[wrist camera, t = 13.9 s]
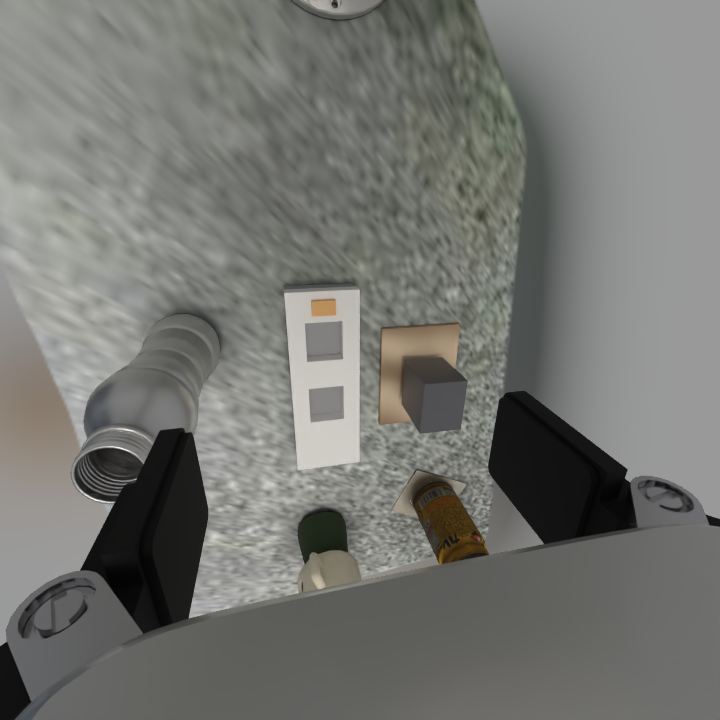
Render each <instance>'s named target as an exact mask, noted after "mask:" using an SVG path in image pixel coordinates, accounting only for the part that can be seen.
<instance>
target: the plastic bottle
mask: <svg viewBox="0 0 720 720" xmlns="http://www.w3.org/2000/svg"><path fill="white" fill-rule="evenodd" d="M219 359H220V345H219V339H218V337H217V334H216V332H215V331H214V329H213V328H212V327H211V326H210V325H209V324H208V323H207V322H206V321H204V320H203V319H201V318H199V317H197V316H193V315H189V314H176V315H172V316H169V317H166V318H164V319H162V320H160V321H158V322H157V323H156V324H155V325H153V326H152V328H151V329H150V330H149V332H148V334H147V336H146V338H145V340H144V342H143V346H142V349H141V351H140V353H139V354H138V356H137V357H136V358H135V359H134V360H133V361H131V362H130V363H129V364H128V365H127V366H125V367H124V368H122V369H121V370H119V371H118V372H116V373H115V374H113V375H111V376H110V377H109V378H107V379H106V380H105V381H104V382H103V383H101V384H100V385H99V386H98V387H97V388H96V389H95V390H94V392H93V393H92V394H91V396H90V398H89V400H88V402H87V405H86V410H85V415H84V420H83V421H84V430H85V433H86V436H87V440H86V441H85V443H84V444H83V446H82V449H81V452H80V453H79V454H78V456H77V457H76V458H75V461H74V463H73V465H72V468H71V479H72V482H73V484H74V486H75V487H76V489H77V490H78V491H79V492H80V493H81V494H82V495H84V496H85V497H87V498H89V499H91V500H93V501H96V502H100V503H105V504H114V503H115V501H116V499H117V497H118V495H119V494H120V492H121V490H122V488H123V487H124V485H126V484H127V483H133V482H135V481H136V479H137V477H138V475H139V473H140V471H141V468H142V466H143V464H144V462H145V460H146V458H147V456H148V454H149V452H150V450H151V448H152V445H153V443H154V441H155V439H156V437H157V435H158V433H159V431H160V430H166V429H175V428H184V430H185V432H186V433H187V432H192V434H193V435H194V433H195V429H196V426H197V421H198V405H199V396H200V392H201V388H202V386H203V384H204V382H205V380H206V379H208V377H209V376H210V375H211V374H212V373H213V371H214V370H215V368H216V366H217V364H218V362H219Z"/></svg>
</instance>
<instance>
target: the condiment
mask: <svg viewBox="0 0 720 720" xmlns="http://www.w3.org/2000/svg"><path fill="white" fill-rule="evenodd" d="M430 481H431V482H430ZM465 486H466V484H465V483H462V482H459V481H455V480H452V479H449V478H445V477H441V476H436V475H433V474H430V473H425V472H422V471H418V470H417V471H416V472H415V474H414V475H413V476H412V478H411V479H410V481H409V483H408V484H407V485H406V487H405V489H404V490H403V492H402V493H401V495H400V497H399V499H398V500H397V502H396V503H395V505H394V507H393V509H392V510H391V511H394V512H397V513H402V514H407V515H410V516H416V517H418V518H419V521H420V522H421V525H422V526H423V529H424V531H425V534H426V536H427V538H428V540H429V543H430V544H431V546H432V549H433V551H434V553H435V555H436V557H437V560H438V562H439V564H445V563H450V562H456V561H461V560H466V559H471V558H476V557H481V556H486V555H489V553H488V551H487V549H486V545H485V541H484V539H483V537H482V536H481V534H480V532H479V531H478V529H477V527H476V526H475V524H474V522H473V521H472V519H471V517H470V516H469V514H468V513H467V511H466V509H465V508H464V506H463V504H462V503H461V501H460V499H459V498H458V495H459V494H460V493H461V492H462V490H463V489H464V487H465ZM410 500H411V502H412V504H411V502H410Z"/></svg>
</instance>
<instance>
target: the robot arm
mask: <svg viewBox="0 0 720 720" xmlns="http://www.w3.org/2000/svg"><path fill="white" fill-rule="evenodd" d="M292 1H293V2H294V3H296V4H297V5H299V6H300V7H302V8H303V9H305V10H306V11H308V12H311V13H313V14H316V15H318V16H321V17H323V18H330V19H336V20H342V19H353V18H356V17H359V16H362V15H364V14H367V13H369V12H370V11H372V10H373V9H375V8H376V7H378V6H379V5H381V4H382V3H383V2H384V0H292ZM333 2H334V3H336V4H337V9H336V8H333V7H332V5H331V4H332V3H333ZM488 468H489V473H490V475H491V476H492V478H493V479H494V480H495V482H496V483H497V484H498V485H499V487H500V488H501V489H502V491H503V492H504V493H505V494H506V495H507V497H508V498H509V499H510V501H511V502H512V503H513V505H514V506H515V507H516V508H517V510H518V511H519V512H520V513H521V515H522V516H523V517H524V519H525V520H526V521H527V522H528V524H529V525H530V526H531V527H532V529H533V530H534V531H535V533H536V534H537V535H538V536H539V538H540V539H541V540H542V541H543V543H544V544H543V545H538V546H533V547H527V548H522V549H517V550H512V551H507V552H501V553H496V554H491V555H486V556H481V557H476V558H471V559H466V560H461V561H456V562H450V563H445V564H440V565H435V566H431V567H426V568H420V569H415V570H410V571H405V572H400V573H396V574H391V575H385V576H381V577H376V578H371V579H366V580H361V581H356V582H351V583H346V584H341V585H337V586H332V587H327V588H322V589H317V590H312V591H307V592H302V593H298V594H293V595H288V596H283V597H279V598H274V599H270V600H265V601H261V602H256V603H252V604H247V605H243V606H238V607H234V608H229V609H225V610H220V611H216V612H212V613H209V614H205V615H201V616H197V617H193V618H189V613H190V608H191V603H192V598H193V593H194V587H195V582H196V577H197V572H198V567H199V562H200V557H201V552H202V547H203V542H204V537H205V532H206V527H207V521H208V505H207V500H206V496H205V491H204V486H203V481H202V476H201V471H200V466H199V461H198V457H197V452H196V447H195V442H194V437H193V434H192V432H187V433H186V432H185V430H184V428H175V429H166V430H160V431H159V433H158V435H157V437H156V439H155V441H154V443H153V445H152V448H151V450H150V452H149V454H148V456H147V458H146V460H145V462H144V464H143V466H142V468H141V471H140V473H139V475H138V477H137V479H136V481H135V482H133V483H127V484H126V485H124V487H123V488H122V490H121V492H120V494H119V495H118V497H117V499H116V501H115V503H114V505H113V507H112V509H111V511H110V513H109V515H108V517H107V519H106V521H105V523H104V525H103V527H102V529H101V531H100V533H99V535H98V536H97V538H96V540H95V543H94V544H93V546H92V548H91V550H90V552H89V554H88V556H87V558H86V560H85V562H84V564H83V566H82V568H81V570H80V571H75V572H71V573H68V574H65V575H62V576H59V577H57V578H55V579H53V580H51V581H49V582H47V583H46V584H44V585H43V586H41V587H40V588H38V589H37V590H36V591H34V592H33V593H32V594H30V595H29V597H28V598H26V599H25V600H24V601H23V602H22V603H21V604H20V605H19V607H18V608H17V609H16V611H15V612H14V614H13V615H12V617H11V618H10V621H9V624H8V626H7V629H6V636H7V642H6V643H4V644H3V645H2V646H0V720H720V519H718V518H714V517H711V516H708V515H705V513H704V510H703V507H702V505H701V504H700V502H699V501H698V499H697V498H696V497H695V496H694V495H693V494H691V493H690V492H689V491H687V490H686V489H684V488H683V487H681V486H679V485H677V484H675V483H673V482H670V481H668V480H665V479H661V478H658V477H652V476H639V477H636V478H634V479H633V480H632V481H631V483H630V482H628V481H627V480H626V479H625V476H626V473H627V469H626V468H625V467H624V466H622V465H621V464H620V463H618V462H617V461H616V460H614V459H613V458H612V457H610V456H609V455H608V454H607V453H605V452H604V451H603V450H601V449H600V448H599V447H598V446H596V445H595V444H593V443H592V442H591V441H590V440H588V439H587V438H586V437H585V436H583V435H582V434H581V433H579V432H578V431H577V430H575V429H574V428H573V427H571V426H570V425H569V424H568V423H566V422H565V421H564V420H562V419H561V418H560V417H558V416H557V415H556V414H554V413H553V412H552V411H550V410H549V409H548V408H547V407H545V406H544V405H543V404H541V403H540V402H539V401H538V400H536V399H535V398H534V397H532V396H531V395H530V394H528V393H527V392H525V391H517V392H508V393H506V394H505V395H504V396H503V398H501V399H500V400H499V405H498V411H497V416H496V422H495V428H494V434H493V440H492V446H491V452H490V458H489V464H488ZM188 618H189V619H188Z"/></svg>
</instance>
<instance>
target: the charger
mask: <svg viewBox="0 0 720 720" xmlns="http://www.w3.org/2000/svg"><path fill="white" fill-rule="evenodd" d="M467 382H468V381H467V380H466V379H465V378H464V377H463V376H462V375H461V374H460V373H459V372H458V371H457V370H456V369H454V368H453V367H452V366H451V365H450V364H449V363H448V362H447V361H446V360H445V359H444V358H443V357H438V358H423V359H408V360H405V361H404V375H403V389H402V403H401V404H402V406H403V407H404V409H405V411H406V412H407V414H408V415H409V417H410V419H411V420H412V422H413V423H414V425H415V427H416V428H417V430H418V431H419V433H420V434H421V433H430V432H439V431H448V430H457V429H461V423H462V416H463V409H464V402H465V395H466V388H467Z"/></svg>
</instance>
